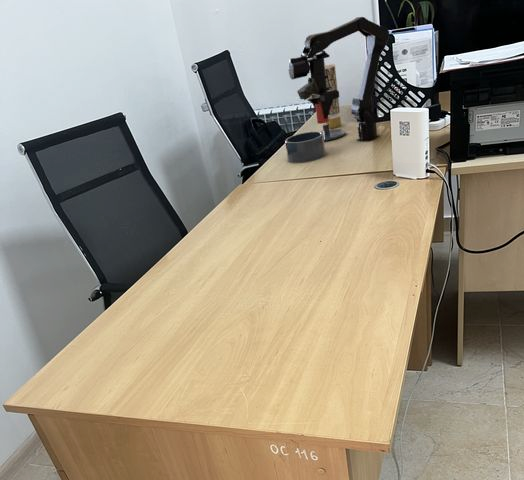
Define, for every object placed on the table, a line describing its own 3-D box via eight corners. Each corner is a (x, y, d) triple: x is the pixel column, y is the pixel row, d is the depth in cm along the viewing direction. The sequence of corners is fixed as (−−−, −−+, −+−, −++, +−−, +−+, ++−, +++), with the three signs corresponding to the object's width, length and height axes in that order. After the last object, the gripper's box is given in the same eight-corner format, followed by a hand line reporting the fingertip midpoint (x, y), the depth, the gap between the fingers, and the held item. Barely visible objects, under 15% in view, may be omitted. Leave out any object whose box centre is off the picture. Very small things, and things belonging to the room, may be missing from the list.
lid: (348, 130, 236) (347, 117, 233) (342, 139, 224) (341, 126, 221) (312, 134, 241) (311, 122, 238) (305, 144, 229) (303, 131, 226)
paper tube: (340, 127, 243) (334, 65, 229) (325, 129, 245) (318, 68, 231) (341, 123, 248) (335, 63, 235) (327, 126, 250) (319, 66, 236)
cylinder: (331, 120, 209) (329, 101, 205) (324, 123, 206) (322, 104, 202) (322, 120, 211) (319, 101, 208) (315, 123, 209) (312, 104, 205)
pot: (328, 149, 216) (325, 129, 212) (321, 160, 204) (319, 139, 200) (293, 153, 220) (290, 134, 216) (284, 164, 209) (281, 144, 205)
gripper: (287, 77, 205) (293, 120, 214) (310, 79, 190) (316, 125, 199) (313, 70, 208) (318, 113, 216) (337, 72, 193) (342, 118, 201)
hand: (322, 118), depth 208 cm, fingers closed on cylinder, 4 cm apart
